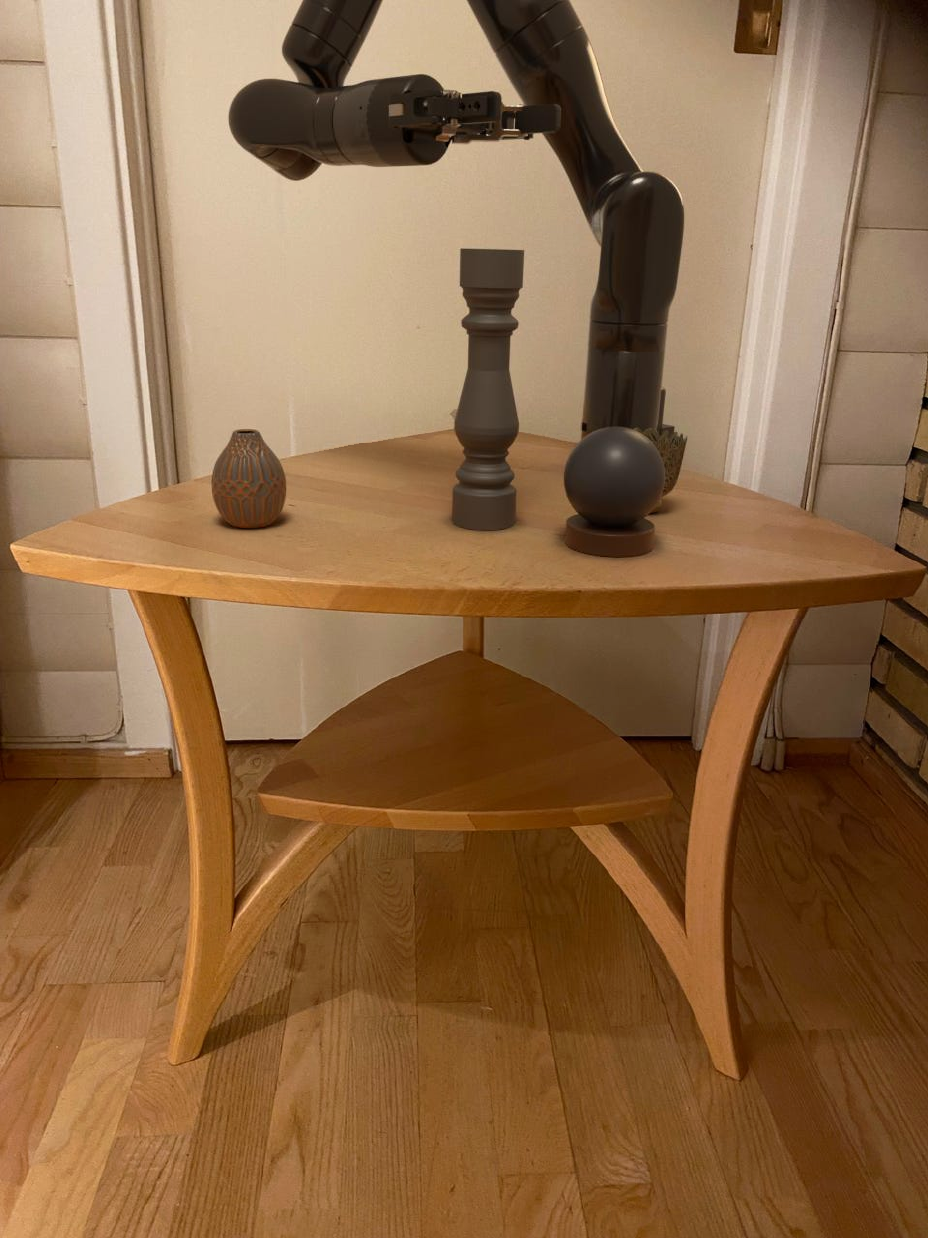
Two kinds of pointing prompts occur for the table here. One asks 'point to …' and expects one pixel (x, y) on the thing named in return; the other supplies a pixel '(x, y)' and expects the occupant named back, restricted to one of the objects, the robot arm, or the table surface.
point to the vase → (248, 481)
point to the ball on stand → (613, 492)
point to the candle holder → (487, 390)
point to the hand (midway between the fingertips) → (529, 112)
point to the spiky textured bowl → (667, 456)
